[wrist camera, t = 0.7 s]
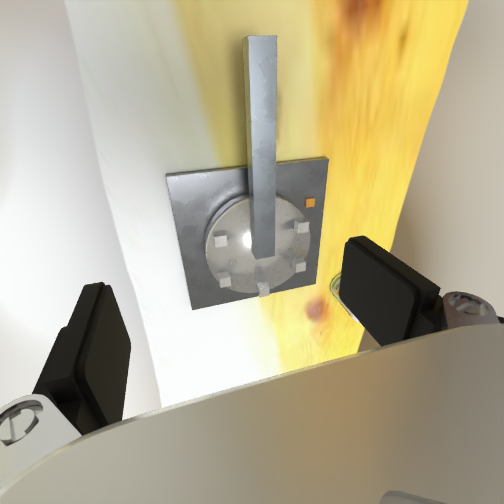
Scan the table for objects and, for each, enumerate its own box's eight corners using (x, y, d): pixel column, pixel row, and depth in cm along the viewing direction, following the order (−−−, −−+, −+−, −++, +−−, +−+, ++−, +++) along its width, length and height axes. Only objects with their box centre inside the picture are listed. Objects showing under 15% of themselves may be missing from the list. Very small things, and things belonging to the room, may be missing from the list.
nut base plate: (165, 174, 32) (166, 177, 31) (325, 156, 37) (330, 159, 35) (191, 305, 43) (192, 311, 42) (312, 280, 47) (316, 284, 46)
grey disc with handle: (174, 42, 26) (176, 36, 22) (315, 40, 29) (338, 34, 25) (210, 291, 41) (215, 311, 37) (300, 273, 44) (312, 290, 40)
